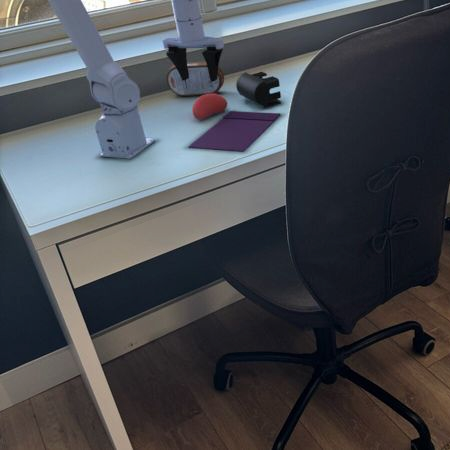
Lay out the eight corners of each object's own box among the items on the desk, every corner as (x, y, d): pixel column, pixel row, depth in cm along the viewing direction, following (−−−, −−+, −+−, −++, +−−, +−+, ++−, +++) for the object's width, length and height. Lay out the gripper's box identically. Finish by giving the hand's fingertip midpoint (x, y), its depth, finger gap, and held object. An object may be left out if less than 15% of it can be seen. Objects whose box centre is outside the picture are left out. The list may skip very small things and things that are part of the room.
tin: (226, 90, 149) (221, 59, 145) (224, 95, 147) (218, 62, 142) (172, 94, 151) (165, 63, 147) (168, 98, 149) (161, 66, 144)
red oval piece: (191, 120, 137) (182, 103, 131) (219, 98, 139) (211, 80, 134) (204, 131, 135) (196, 115, 129) (232, 108, 137) (225, 91, 131)
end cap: (238, 101, 141) (234, 75, 138) (263, 94, 144) (259, 68, 141) (257, 112, 134) (253, 84, 130) (282, 104, 137) (279, 76, 133)
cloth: (243, 151, 115) (243, 149, 115) (188, 147, 120) (188, 145, 119) (281, 115, 131) (280, 113, 130) (231, 112, 135) (230, 110, 135)
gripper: (225, 14, 124) (235, 75, 131) (170, 14, 129) (182, 73, 136) (210, 21, 119) (221, 84, 126) (152, 22, 124) (166, 83, 131)
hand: (199, 79), depth 131 cm, fingers open, 7 cm apart
